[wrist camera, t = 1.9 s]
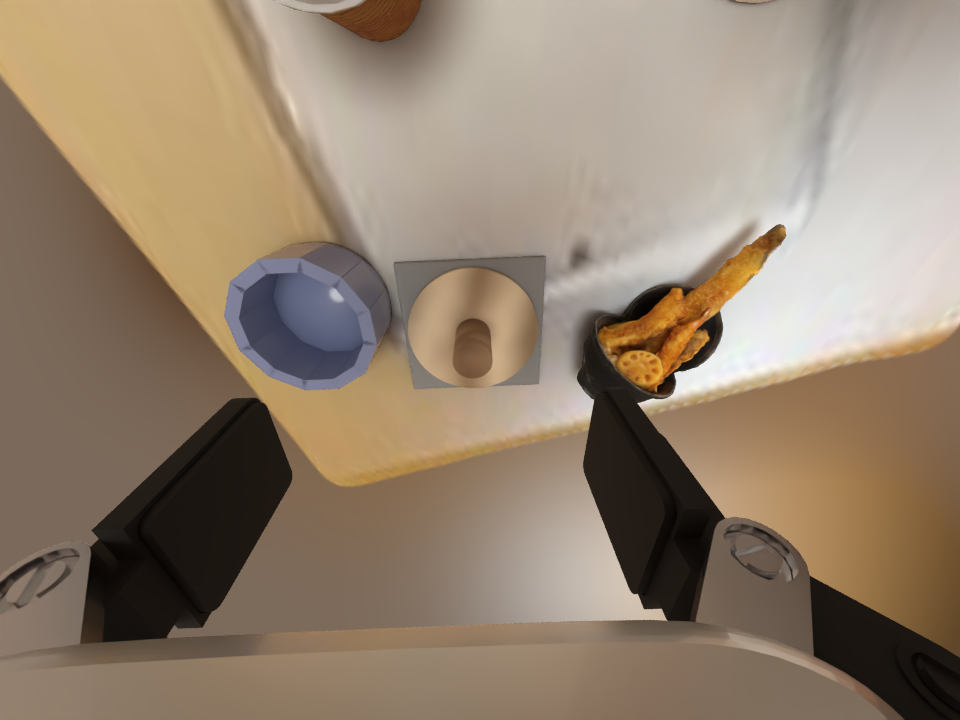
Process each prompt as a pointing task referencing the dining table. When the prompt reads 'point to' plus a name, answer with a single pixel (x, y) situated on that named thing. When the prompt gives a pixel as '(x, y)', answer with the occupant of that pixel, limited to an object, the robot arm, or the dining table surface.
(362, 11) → the disposable coffee cup
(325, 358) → the bowl
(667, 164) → the dining table surface
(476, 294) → the lid
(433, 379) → the mat
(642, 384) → the black dish with food
